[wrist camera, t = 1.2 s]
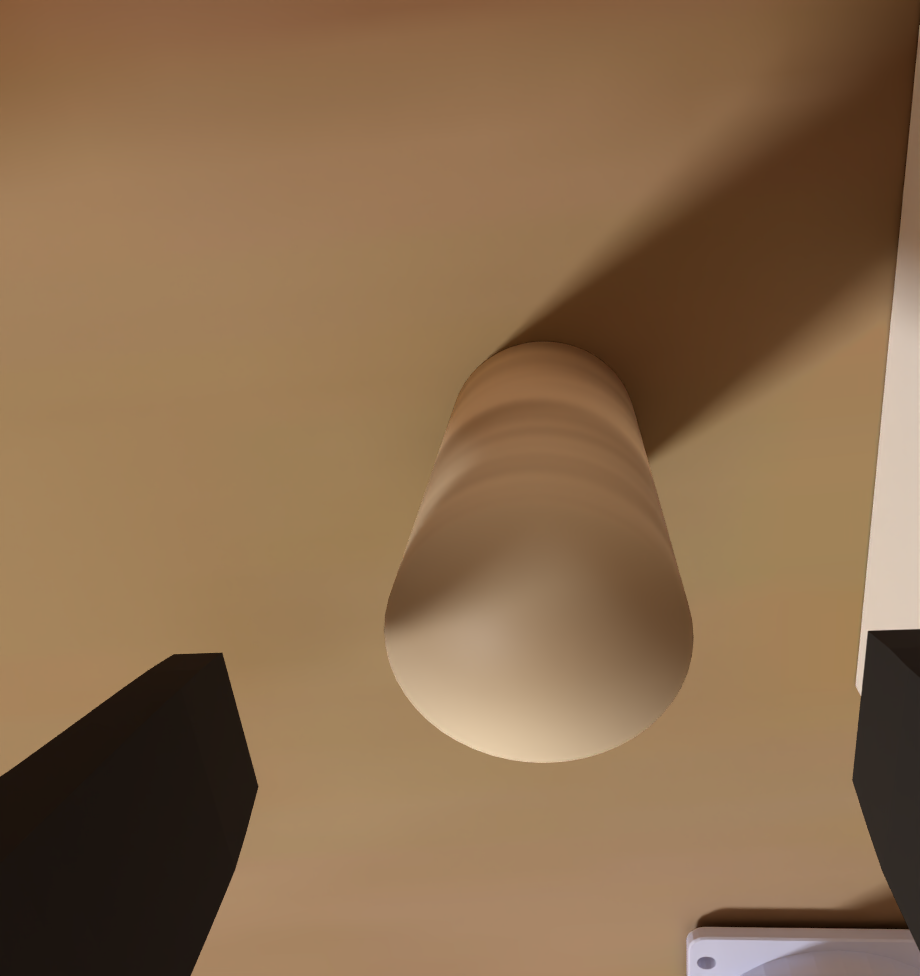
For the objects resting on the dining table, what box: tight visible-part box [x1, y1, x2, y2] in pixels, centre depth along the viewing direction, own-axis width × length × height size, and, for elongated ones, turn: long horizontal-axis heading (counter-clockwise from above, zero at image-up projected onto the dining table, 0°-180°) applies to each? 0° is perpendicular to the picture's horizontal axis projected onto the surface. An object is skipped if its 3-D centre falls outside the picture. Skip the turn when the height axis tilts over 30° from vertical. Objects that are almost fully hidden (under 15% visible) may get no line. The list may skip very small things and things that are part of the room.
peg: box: [384, 341, 693, 763], centre depth 14 cm, size 4×4×8 cm
